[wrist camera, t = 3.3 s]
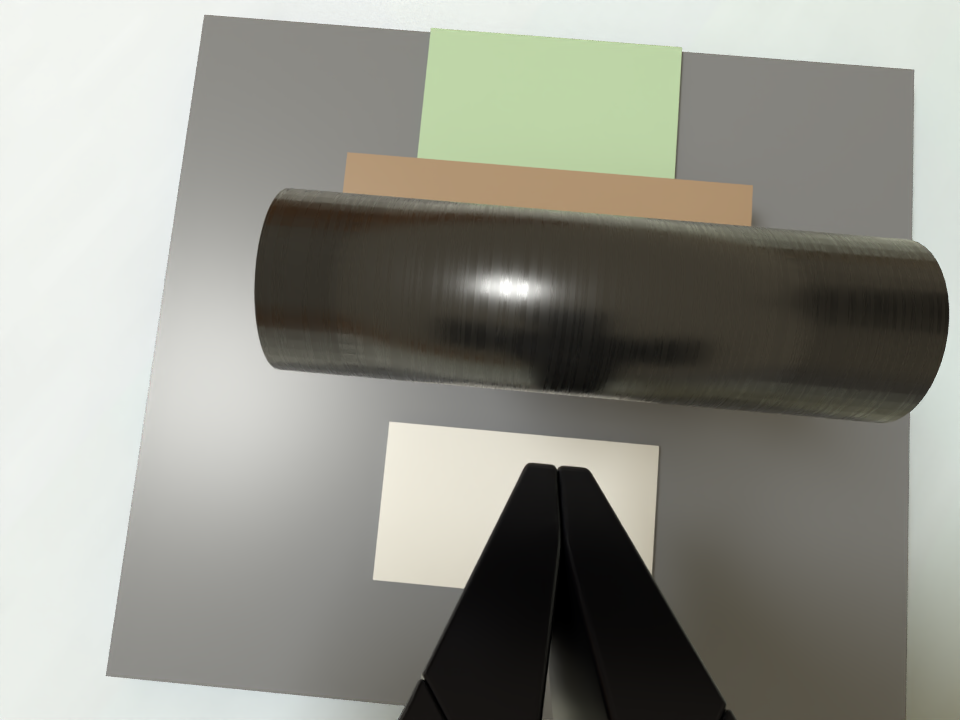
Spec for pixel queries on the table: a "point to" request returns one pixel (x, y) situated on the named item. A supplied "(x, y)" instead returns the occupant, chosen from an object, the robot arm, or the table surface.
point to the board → (495, 412)
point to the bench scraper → (599, 305)
